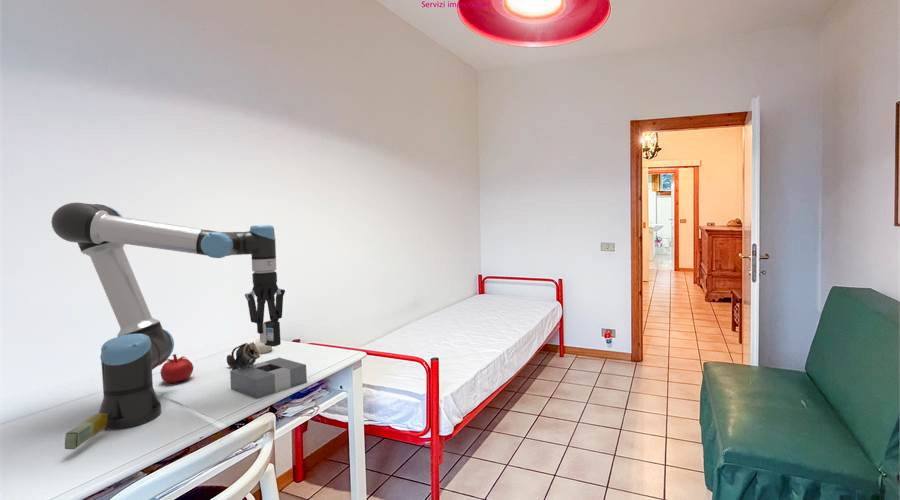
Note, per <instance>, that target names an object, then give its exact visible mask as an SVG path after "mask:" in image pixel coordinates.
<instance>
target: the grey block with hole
mask: <svg viewBox="0 0 900 500" xmlns="http://www.w3.org/2000/svg"><path fill="white" fill-rule="evenodd" d="M229 372H230V373H229V374H230V377H229V378H230V390H234V391H236V392H239V393H241V394H243V395H247V396H249V397H252V398H254V399H257V400H258V399H261V398H262V397H266V396H270V395H272V394H276V393H278V392H281V391H284V390H287V389H290V388H293V387H297V386H299V385H302V384H305V383H307V381H308V377H307V376H308V375H307V364H305V363H301V362H298V361H294V360H291V359H287V358H282V357H277V358H273V359H268V360H265V361H262V362H258V363H254V365H250V366H246V367H242V368H239V369H235V370H232V369H231V370H229Z"/></svg>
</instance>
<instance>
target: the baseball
mask: <svg viewBox="0 0 900 500" xmlns="http://www.w3.org/2000/svg"><path fill="white" fill-rule="evenodd" d="M254 344H255V346H256V348H257V350H258V352H259V354H268V353H270V352H271V351H272V349H273V346H267V345H265V344H264V343H260V338H259V339H257V341H255V342H254Z"/></svg>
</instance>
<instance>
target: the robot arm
mask: <svg viewBox="0 0 900 500" xmlns="http://www.w3.org/2000/svg"><path fill="white" fill-rule="evenodd" d="M51 227H52V230H53V232H54V233H55V234H56V235H57V236H58V237H59V238H60V239H63V240H65V241H66V242H71V243H75V244H76V243H77V245H78V248H79V250H80V252H81V253H82V254H83V255H86V256H89V257H90V260H91V262H92V264H93V266H94V269H95V272H96V274H97V276H98V278H99V281H100V283H101V286H102V287H103V290H104V293H105V294H106V297H107V300H108V303H109V304H110V307H111V309H112V311H113V313H114V316H115V318H116V320H117V322H118V326H119V328H120V330H119V332H118V334H117V335H116V336H115V337H113V338H110V339H108V340H107V341H105V342H104V343H103V344H102V345H101V348H100V355H99V358H100V361H101V362H100V363H101V375H102V390H103V397H102V401H101V404H100V407H99V411H98V413H106V414H108V416H107V427H106V428H104V429H103V430H117V429H118V430H119V429H124V428H131V427H133V426H137V425H141V424H144V423H146V422H150V421H152V420H154V419H155V418H157V417H158V416H160V415H161V414H162V404H161V401H160V399H159V397H158V396H157V394H156V391H155V389H154V386H153V385H154V382H153V370H154V369H156V368H157V367H158V366H161V365H162V364H163V363H164V364H165V363H166V360H167V359H169V358H170V356H171V355H172V353H173V351H174V346H175V342H174V337H173V336H172V334H171V333H170V332H169V331H168V330H166V329H164V328H163V326H162V323H161V321H160V320H159V319H156V318H154V317H152V315H151V312H150V310H149V307H148V305H147V302H146V300H145V296H144V295H143V293H142V291H141V288H140V286H139V283H138V280H137V279H136V277H135V274H134V272H133V269H132V267H131V264H130V262H129V259H128V257H127V254H126V252H125V250H124V247H125V245H130V246H135V247H136V246H137V247H144V248H150V249H151V248H152V249H157V250H158V249H159V250H165V251H166V250H167V251H174V252H180V253H188V254H194V255H201V256H205V257H206V256H207V257H210V258H213V259H221V258H225V257H229V256H241V255H251V271H252V272H253V273H252V274H251V275H252V285H253V287H252V289H251V291H250V292H248V293H245V294H244V297H245V299H246V300H247V306H248V313H249V317H250V322H251V323H253V324H256V330H257V331H256V332H257V334H259V339H260V343H264V344H265V343H267V339H266V324H265V323H264V318H265V304H266V303H267V308H268V309H267V310H268V315H269V321H278V322H279V319H282V318H283V307H284V305H283V304H284V295H285V293H286V290H285V289H284V288H280V287H279V286H278V283H277V282H278V273H277V271H276V270H277V253H276V251H277V250H276V236H275V235H276V233H275V228H274V225H271V224H270V225H269V224H268V225H267V224H266V225H265V224H264V225H263V224H262V225H261V224H260V225H259V224H258V225H251V226H250V228H249V231H248V230H247V231H215V230H209V229H202V228H196V227H188V226H184V225H183V226H182V225H178V224H172V223H163V222H156V221H152V220H151V221H150V220H143V219H139V218H138V219H137V218H131V217H125V216H123V215H122V214H121V213H120V212H119V211H118V210H117V209H115V208H112V207H110V206H109V205H108V206H107V205H105V204H99V203H85V202H70V203H65V204H63V205H61V206H60V207H58V208H57V209H56V210H55V211H54V212H53V214H52V217H51ZM255 298H256V300H255ZM256 303H257V304H256ZM167 361H168V360H167Z"/></svg>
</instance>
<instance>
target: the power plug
mask: <svg viewBox="0 0 900 500" xmlns="http://www.w3.org/2000/svg"><path fill="white" fill-rule="evenodd" d="M255 360H257V359H256V358H255V357H254V356H253V355H252V354H251V353H245V354H242V355H238V356H237V357H236V356H235V361H234V365H233V368H232V367H231V368H232V369H231V370H235V369H239V368H242V367H246V366H250V365H254V364H256V361H255Z"/></svg>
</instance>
